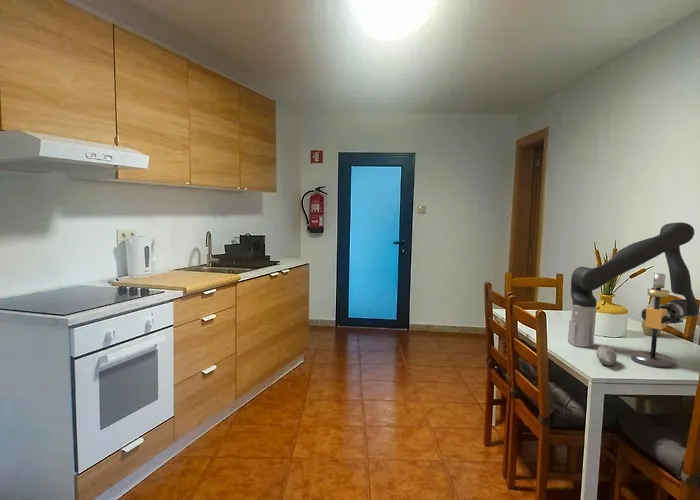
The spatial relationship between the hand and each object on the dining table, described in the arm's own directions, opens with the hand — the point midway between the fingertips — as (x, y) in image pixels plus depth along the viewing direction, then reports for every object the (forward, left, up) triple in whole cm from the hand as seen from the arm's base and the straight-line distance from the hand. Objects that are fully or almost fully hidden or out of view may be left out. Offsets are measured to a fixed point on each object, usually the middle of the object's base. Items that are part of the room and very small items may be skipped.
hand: (653, 318), depth 174 cm
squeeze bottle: (+24, +42, -17) cm, 51 cm away
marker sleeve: (+2, +2, -3) cm, 4 cm away
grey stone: (-17, -2, -17) cm, 25 cm away
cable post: (+2, +2, -17) cm, 17 cm away
